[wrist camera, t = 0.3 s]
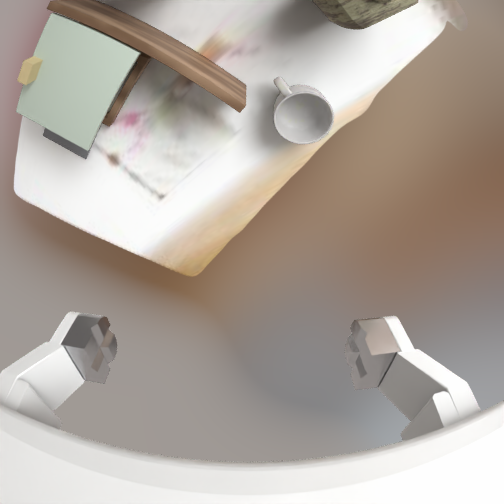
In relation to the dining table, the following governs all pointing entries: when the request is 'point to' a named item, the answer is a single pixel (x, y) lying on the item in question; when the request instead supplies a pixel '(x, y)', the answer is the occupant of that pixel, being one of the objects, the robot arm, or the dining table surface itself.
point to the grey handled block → (361, 11)
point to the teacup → (301, 113)
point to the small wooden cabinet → (152, 52)
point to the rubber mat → (66, 143)
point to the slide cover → (73, 79)
